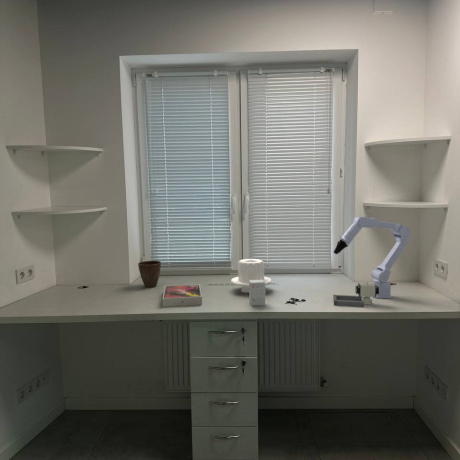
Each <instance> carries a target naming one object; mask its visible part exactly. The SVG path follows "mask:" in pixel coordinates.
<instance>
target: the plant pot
mask: <svg viewBox="0 0 460 460" xmlns="http://www.w3.org/2000/svg"><path fill="white" fill-rule="evenodd" d="M137 266H138V270H139V274H140V277H141V281H142V283H143V285H144V287H145V288H148V289H149V288H150V289H152V288H156V287H157V285H158V282H159V279H160V275H161V273H160V272H161V268H162V267H161V266H162V261H160V260H145V261H140V262H138V263H137Z"/></svg>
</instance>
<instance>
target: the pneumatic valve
mask: <svg viewBox="0 0 460 460" xmlns="http://www.w3.org/2000/svg"><path fill="white" fill-rule="evenodd" d="M354 290H355V294H356V295H357V296H359V297H362V299H361V301H364V306H365V305H368V306H369V305H371V304H372V303H373V299H372V298H373V297H376V295H377V294H379V287H378V286H376V285H375V284H373V283H369V282H365V283H361V282H360V283H357V285H355V288H354Z"/></svg>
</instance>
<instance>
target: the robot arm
mask: <svg viewBox="0 0 460 460" xmlns="http://www.w3.org/2000/svg"><path fill="white" fill-rule="evenodd" d="M363 228H367V229H377V228H385V229H389V230H390V231H391V233H392V235H393V236H394V238H395V241H396V242H395V243H394V245H393V247H392V248H391V250H390V251H389V253H388V254H387V256H386V257H385V258H384V259H383V261H382V263H381V264H378V265H377V266H376V268H374V269H373V270H372V271H371V278H372V279H373V280H372V281H373V282H372V284H375V285H376V286H378V287H379V294H377V295H376V297H372V298H373V299H374V298H376V299H378V298H379V299H391V298H392V297H391V293H392V292H391V290H392V287H391V282H390V281H389V278H390V275H391V273H392V272H391V269H392V267H393V266H394V265H395V263H396V262H397V260H398V258H399V257H400V256H401V254H402V253H403V251H404V250H405V248H406V247H407V246H408V243H409V238H410V236H411V234H412V232H411V228H410V227H409V226H407V225H403V224H401V223H396V222H388V221H380V220H379V219H378V218H376V217H375V216H374V217H373V216H372V217H368V216H361V215H360V216H356V217H354V218H353V220H352V224H351V225H350V226H349V227H348V228H347V229H346V231H345V232H344V233H343V235H340V236H338V237H339V238H340V239H339V240H338V241H337V243H336V247H335V248H334V250H333V253H334V254H335V255H338V254H339V253H341V252H342V251H343V250H344V249H346V248H347V247H349V246H350V245H351V243H352V242H353V240H354V239H355V237H356V236H357V235H358V234H359V233H360V231H361V230H362V229H363Z"/></svg>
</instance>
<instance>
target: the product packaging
mask: <svg viewBox="0 0 460 460" xmlns="http://www.w3.org/2000/svg"><path fill="white" fill-rule="evenodd" d="M199 305H201V306H202V305H203V296H202V290H201V285H200V284H199V283H198V284H196V283H195V284H175V285H174V284H173V285H164V288H163V295H162V308H163V307H180V306H183V307H184V306H199Z"/></svg>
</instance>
